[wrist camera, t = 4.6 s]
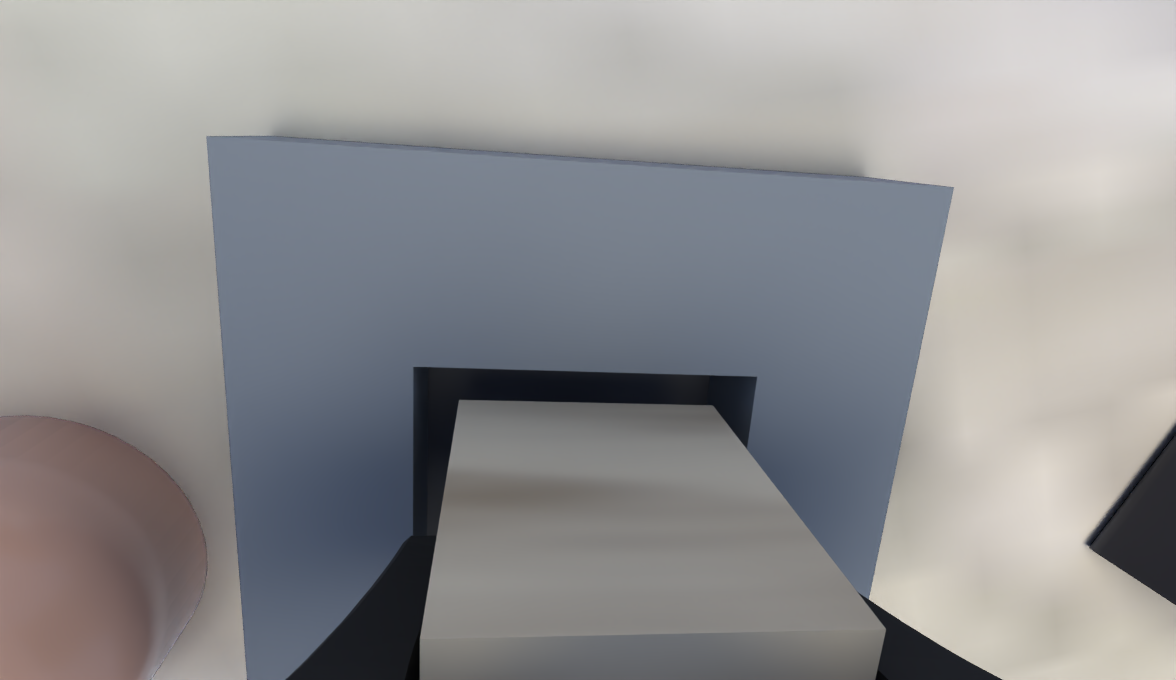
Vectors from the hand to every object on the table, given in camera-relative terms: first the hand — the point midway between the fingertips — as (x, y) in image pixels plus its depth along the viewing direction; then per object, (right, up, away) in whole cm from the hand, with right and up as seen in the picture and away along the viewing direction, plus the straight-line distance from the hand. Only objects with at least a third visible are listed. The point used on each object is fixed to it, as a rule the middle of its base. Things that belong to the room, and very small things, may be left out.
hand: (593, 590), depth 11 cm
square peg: (0, +1, +2) cm, 2 cm away
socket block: (-1, +1, +5) cm, 5 cm away
